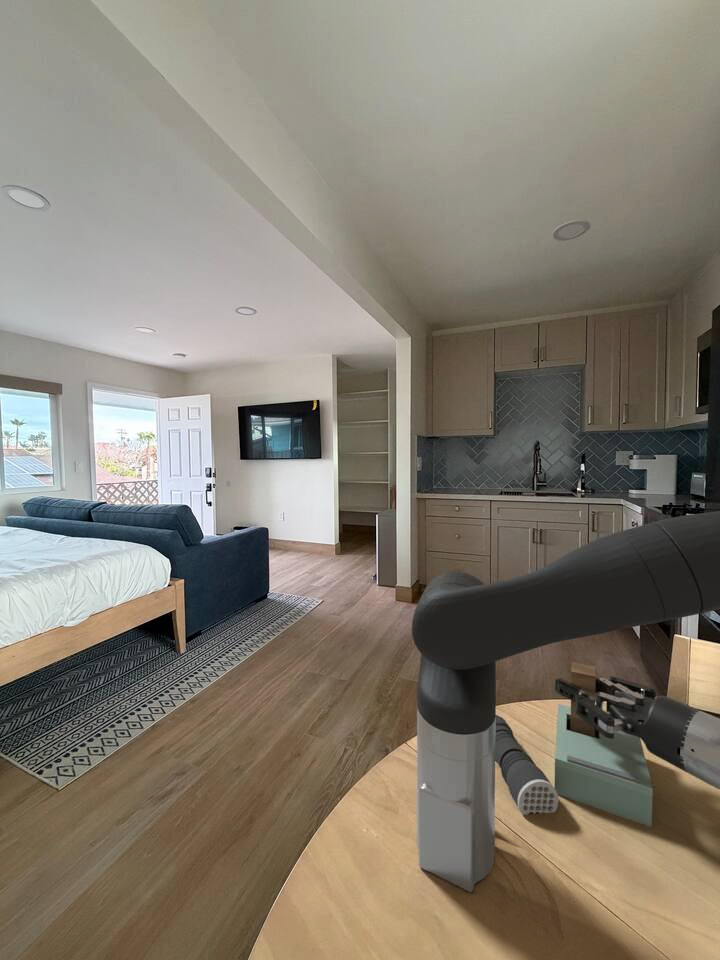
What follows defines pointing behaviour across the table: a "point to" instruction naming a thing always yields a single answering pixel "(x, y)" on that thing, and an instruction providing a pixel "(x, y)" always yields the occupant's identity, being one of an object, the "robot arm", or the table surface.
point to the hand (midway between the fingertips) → (565, 680)
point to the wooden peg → (587, 681)
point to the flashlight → (522, 774)
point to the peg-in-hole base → (603, 771)
